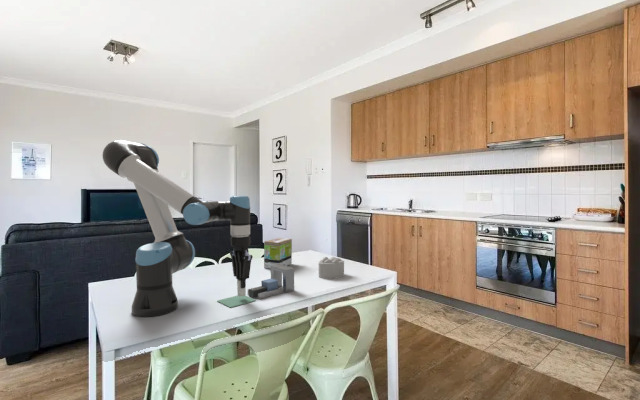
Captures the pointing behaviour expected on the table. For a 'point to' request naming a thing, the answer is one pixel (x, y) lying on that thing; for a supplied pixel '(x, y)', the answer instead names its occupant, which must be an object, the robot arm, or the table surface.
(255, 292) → the plug
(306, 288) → the table surface
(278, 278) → the grey stand
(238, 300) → the mat
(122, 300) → the table surface
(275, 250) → the tea box
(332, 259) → the lumpy-topped squat cylinder
